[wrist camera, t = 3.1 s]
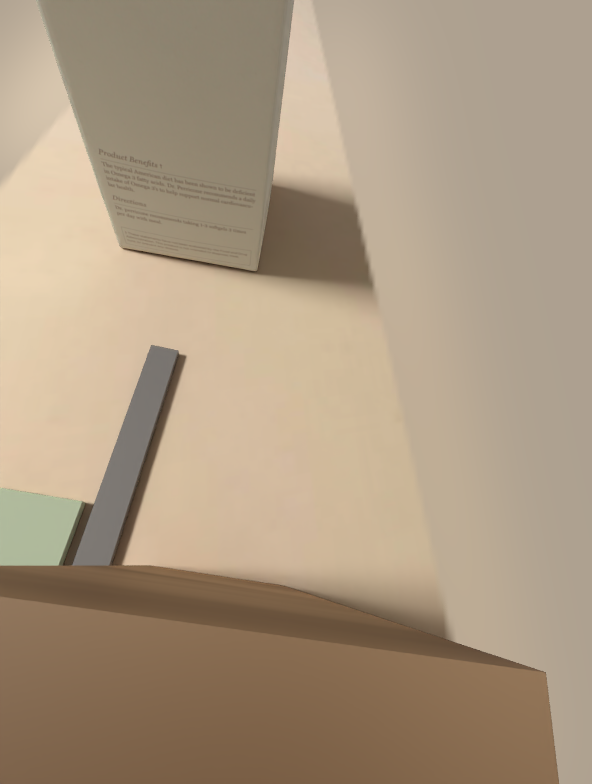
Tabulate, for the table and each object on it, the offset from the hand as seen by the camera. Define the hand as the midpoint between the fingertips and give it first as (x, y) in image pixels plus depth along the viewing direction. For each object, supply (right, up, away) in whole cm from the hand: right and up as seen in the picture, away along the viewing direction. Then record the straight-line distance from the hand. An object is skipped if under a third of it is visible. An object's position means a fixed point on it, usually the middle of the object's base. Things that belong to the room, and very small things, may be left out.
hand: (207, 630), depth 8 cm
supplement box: (-3, +15, +14) cm, 20 cm away
